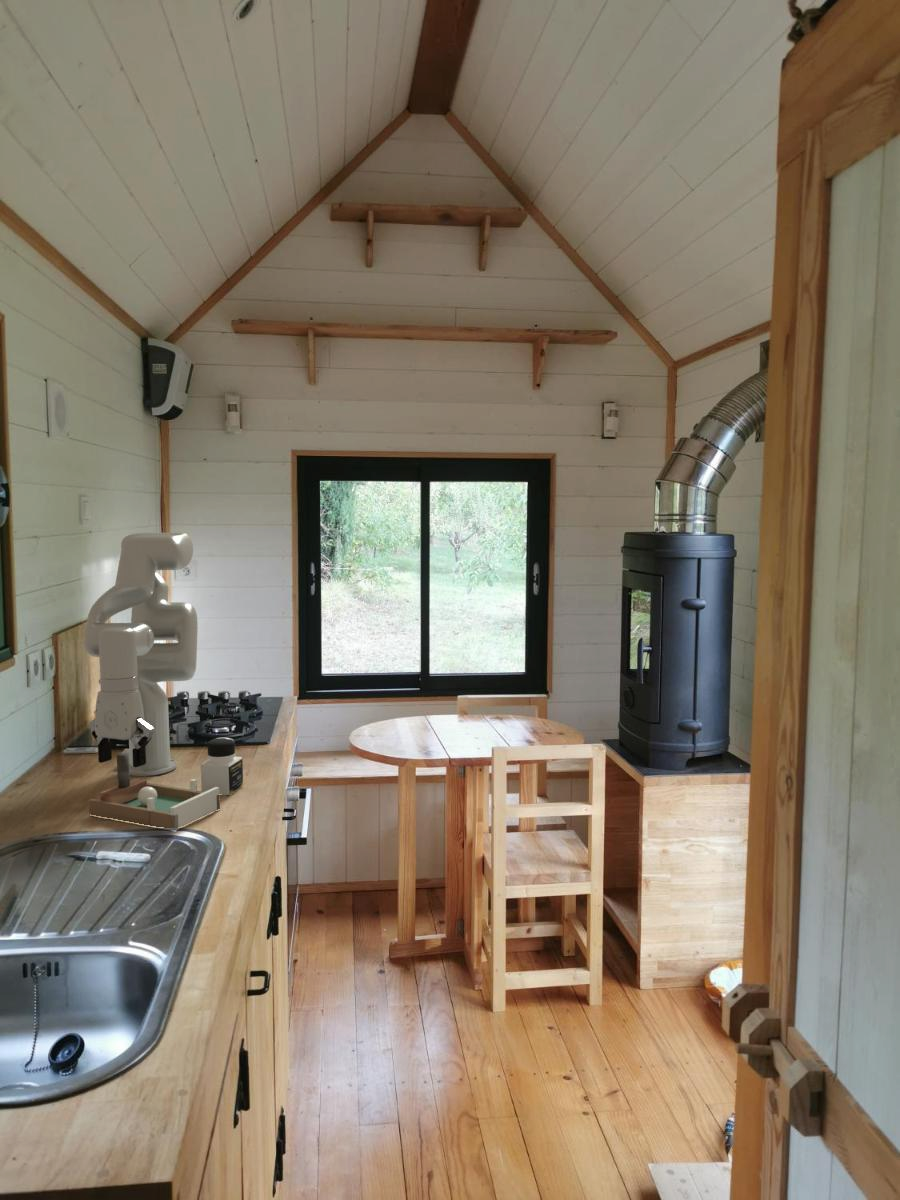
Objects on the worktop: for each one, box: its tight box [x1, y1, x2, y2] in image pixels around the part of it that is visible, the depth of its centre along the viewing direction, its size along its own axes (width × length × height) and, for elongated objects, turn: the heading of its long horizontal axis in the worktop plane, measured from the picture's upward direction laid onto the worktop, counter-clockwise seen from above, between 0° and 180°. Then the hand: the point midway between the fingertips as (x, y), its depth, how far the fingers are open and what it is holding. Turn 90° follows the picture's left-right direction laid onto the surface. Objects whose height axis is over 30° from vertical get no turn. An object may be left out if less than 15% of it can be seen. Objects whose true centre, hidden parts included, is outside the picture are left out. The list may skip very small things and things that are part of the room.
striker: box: [100, 752, 148, 804], centre depth 189 cm, size 3×10×10 cm, turn 156°
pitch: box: [88, 778, 221, 828], centre depth 186 cm, size 23×14×6 cm, turn 66°
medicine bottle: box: [200, 737, 244, 796], centre depth 200 cm, size 7×7×12 cm
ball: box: [138, 787, 157, 806], centre depth 186 cm, size 4×4×4 cm
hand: (122, 763), depth 188 cm, fingers open, 9 cm apart
